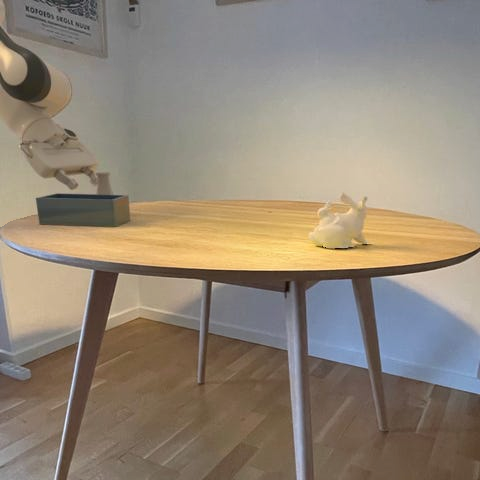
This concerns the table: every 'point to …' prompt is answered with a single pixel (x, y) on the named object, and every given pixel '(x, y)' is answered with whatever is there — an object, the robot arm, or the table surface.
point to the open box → (83, 209)
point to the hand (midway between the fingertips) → (87, 185)
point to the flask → (103, 184)
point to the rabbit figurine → (340, 225)
